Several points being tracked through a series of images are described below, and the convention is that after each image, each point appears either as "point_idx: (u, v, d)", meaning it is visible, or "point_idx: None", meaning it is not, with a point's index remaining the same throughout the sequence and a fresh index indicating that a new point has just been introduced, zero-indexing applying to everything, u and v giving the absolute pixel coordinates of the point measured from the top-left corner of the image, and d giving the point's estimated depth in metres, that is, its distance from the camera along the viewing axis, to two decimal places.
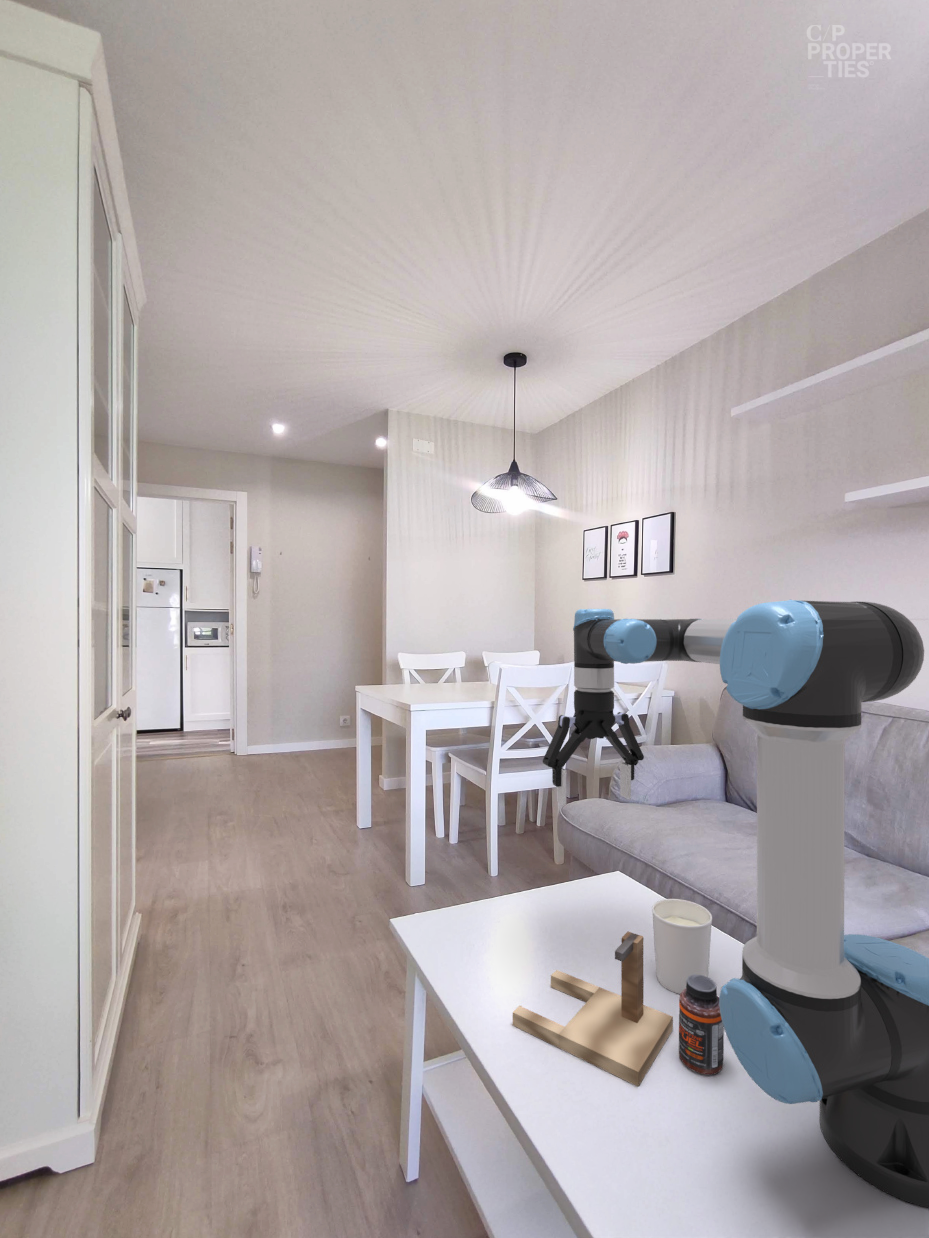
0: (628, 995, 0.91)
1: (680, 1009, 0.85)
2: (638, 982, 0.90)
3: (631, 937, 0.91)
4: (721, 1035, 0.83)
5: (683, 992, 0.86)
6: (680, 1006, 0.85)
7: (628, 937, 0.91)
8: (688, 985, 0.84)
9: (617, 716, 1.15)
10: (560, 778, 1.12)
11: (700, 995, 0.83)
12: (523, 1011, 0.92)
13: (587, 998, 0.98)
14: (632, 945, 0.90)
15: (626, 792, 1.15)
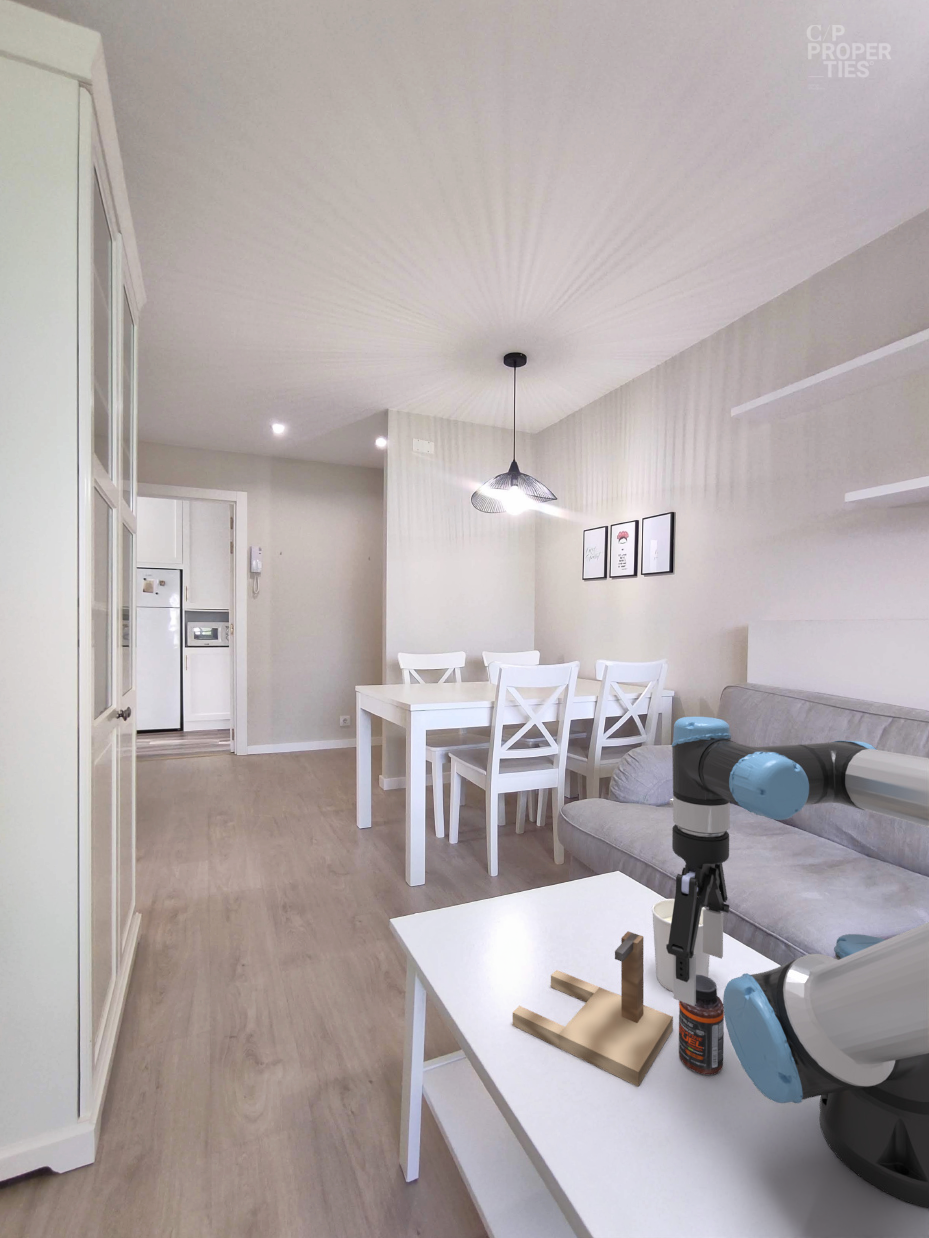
0: (628, 995, 0.91)
1: (680, 1009, 0.85)
2: (638, 982, 0.90)
3: (631, 937, 0.91)
4: (721, 1035, 0.83)
5: None
6: (680, 1006, 0.85)
7: (628, 937, 0.91)
8: None
9: None
10: (689, 968, 0.79)
11: (700, 995, 0.83)
12: (523, 1011, 0.92)
13: (587, 998, 0.98)
14: (632, 945, 0.90)
15: (719, 949, 0.89)
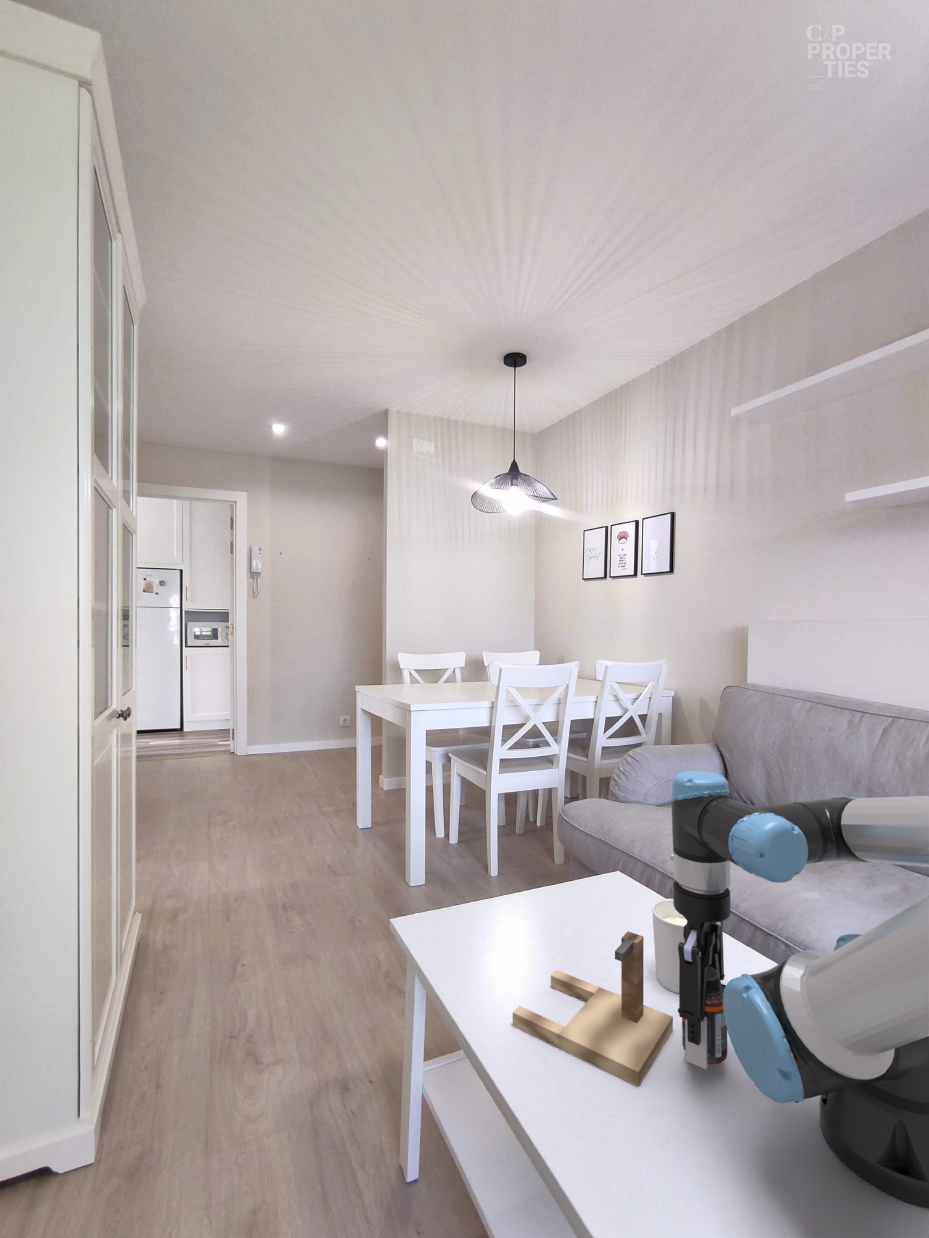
0: (628, 995, 0.91)
1: None
2: (638, 982, 0.90)
3: (631, 937, 0.91)
4: (724, 1024, 0.82)
5: None
6: None
7: (628, 937, 0.91)
8: None
9: None
10: (700, 1031, 0.81)
11: None
12: (523, 1011, 0.92)
13: (587, 998, 0.98)
14: (632, 945, 0.90)
15: None
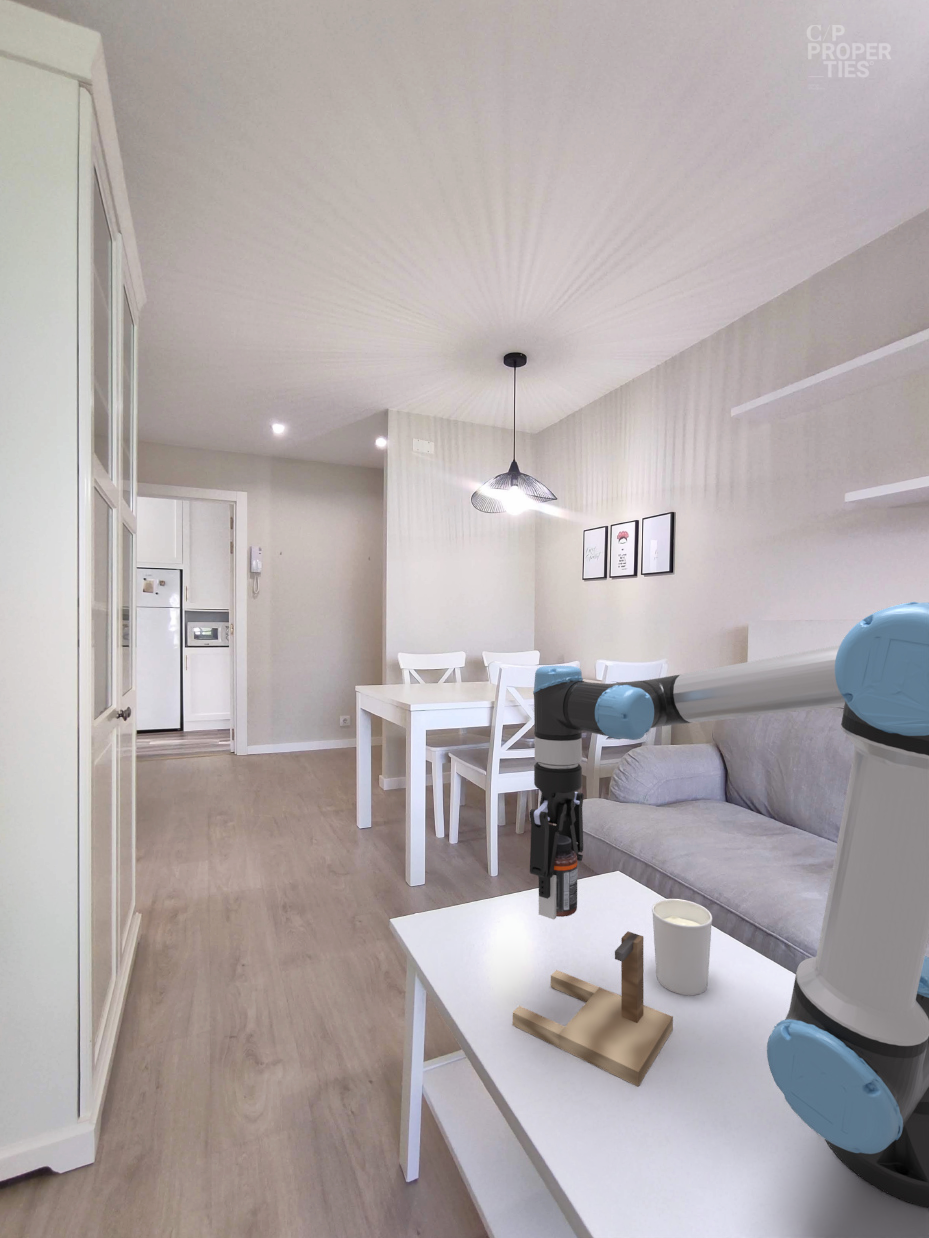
0: (628, 995, 0.91)
1: None
2: (638, 982, 0.90)
3: (631, 937, 0.91)
4: (573, 882, 0.93)
5: None
6: None
7: (628, 937, 0.91)
8: None
9: None
10: (550, 887, 0.92)
11: None
12: (523, 1011, 0.92)
13: (587, 998, 0.98)
14: (632, 945, 0.90)
15: None
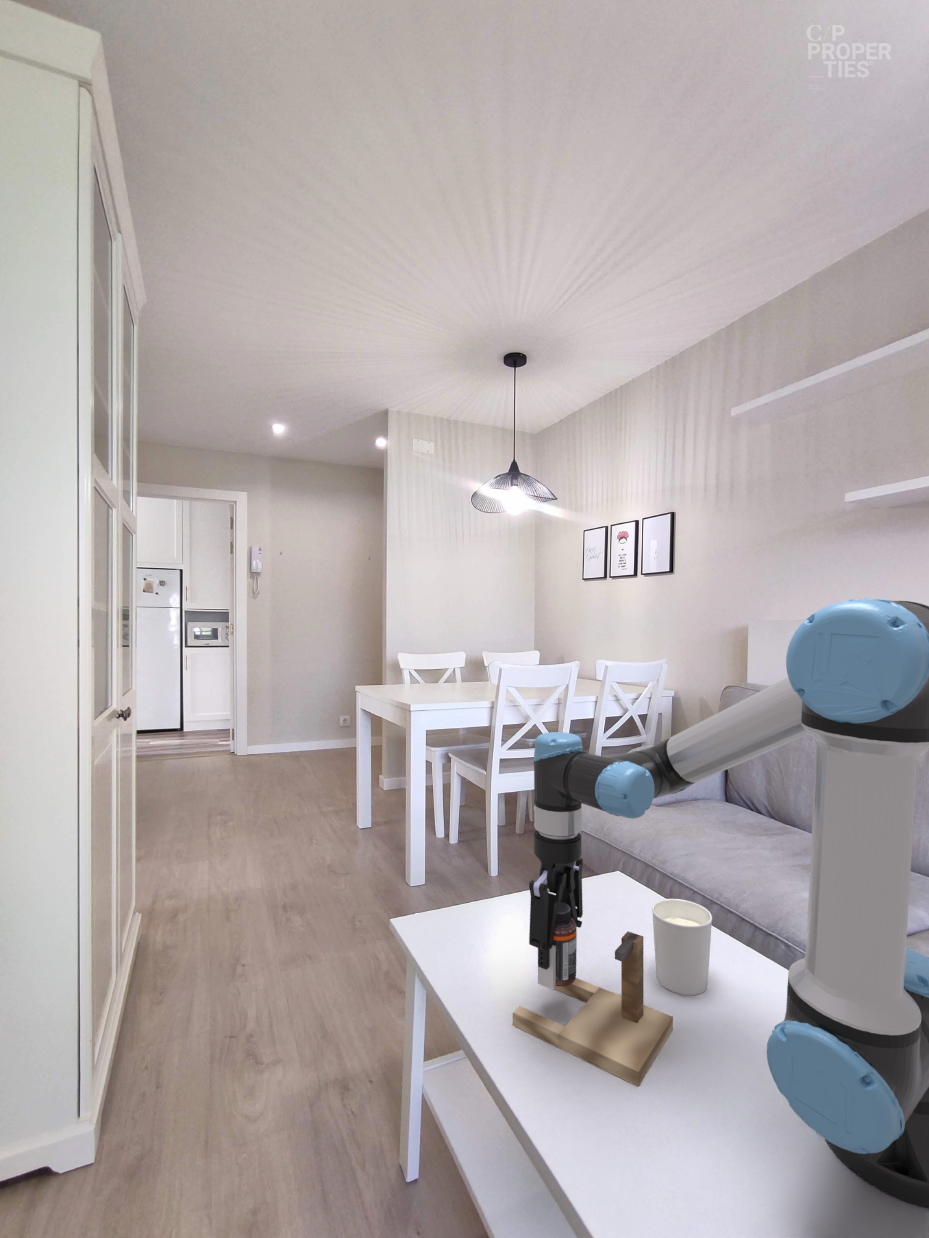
0: (628, 995, 0.91)
1: None
2: (638, 982, 0.90)
3: (631, 937, 0.91)
4: (572, 952, 0.93)
5: None
6: None
7: (628, 937, 0.91)
8: None
9: None
10: (549, 957, 0.92)
11: None
12: (523, 1011, 0.92)
13: (587, 998, 0.98)
14: (632, 945, 0.90)
15: None
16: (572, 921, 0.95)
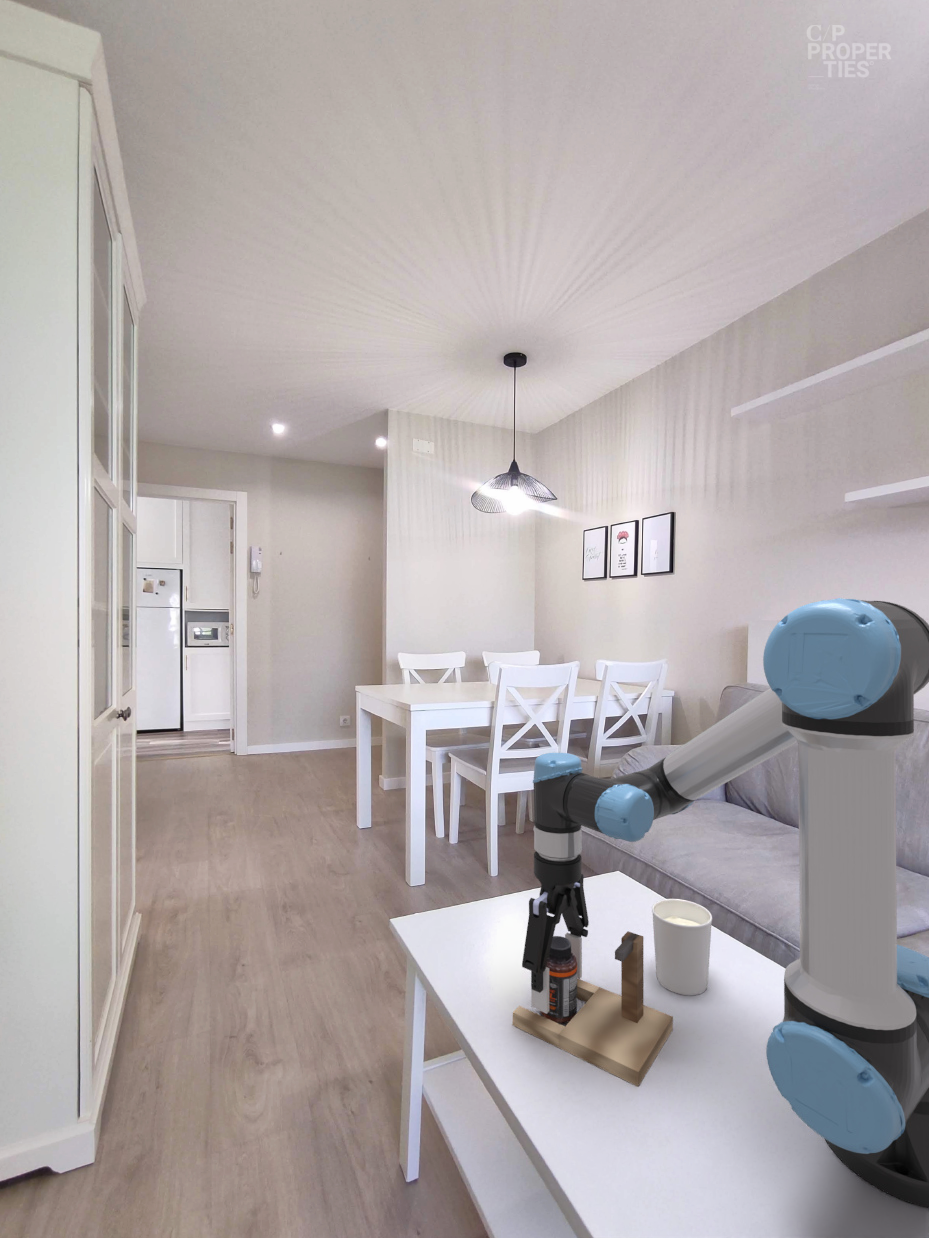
0: (628, 995, 0.91)
1: None
2: (638, 982, 0.90)
3: (631, 937, 0.91)
4: (573, 988, 0.93)
5: None
6: None
7: (628, 937, 0.91)
8: None
9: None
10: (542, 980, 0.90)
11: (554, 953, 0.93)
12: (523, 1011, 0.92)
13: (587, 998, 0.98)
14: (632, 945, 0.90)
15: (578, 970, 0.99)
16: (573, 956, 0.95)
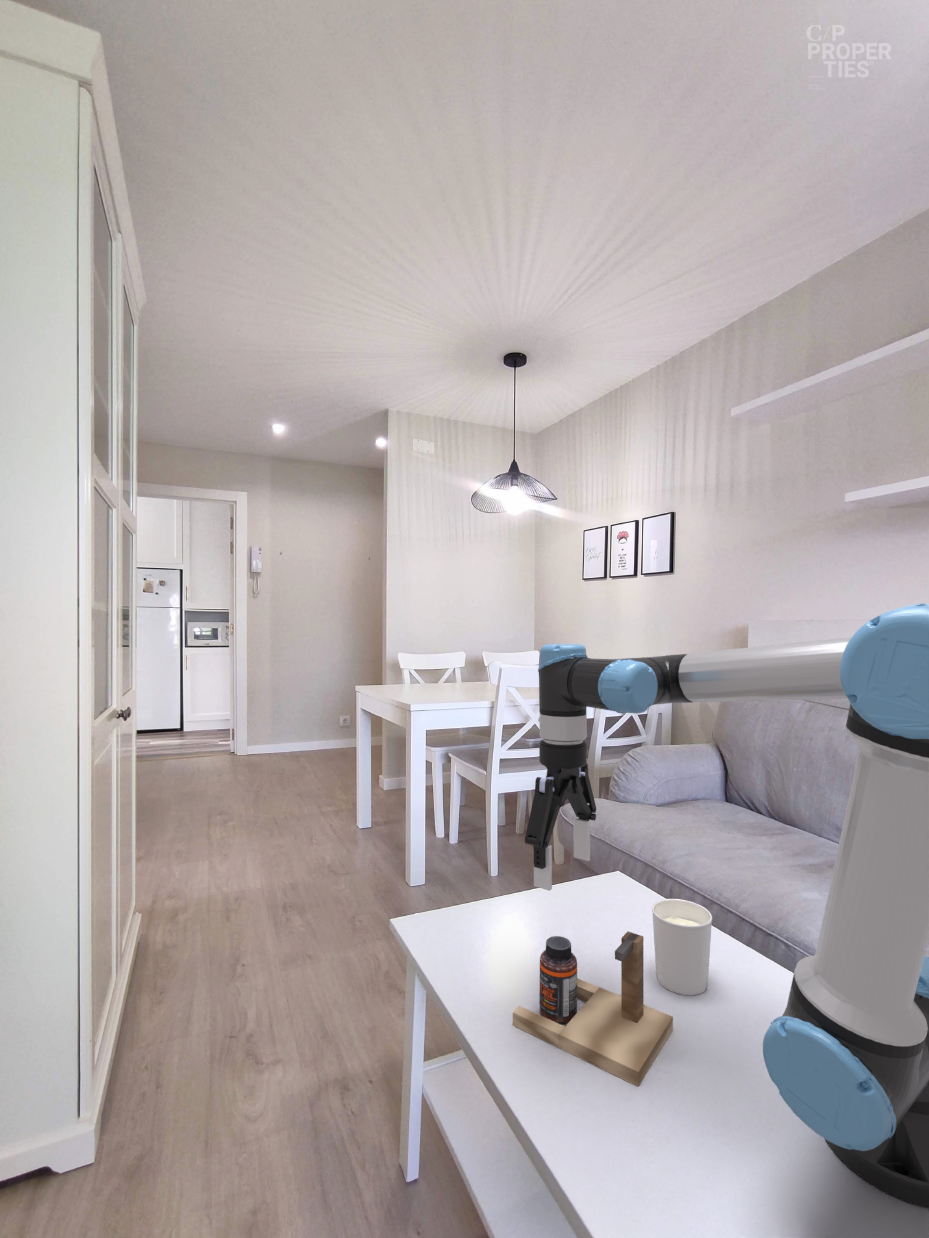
0: (628, 995, 0.91)
1: None
2: (638, 982, 0.90)
3: (631, 937, 0.91)
4: (573, 988, 0.93)
5: (544, 951, 0.96)
6: None
7: (628, 937, 0.91)
8: (546, 944, 0.95)
9: (578, 767, 1.00)
10: (545, 857, 0.90)
11: (554, 953, 0.93)
12: (523, 1011, 0.92)
13: (587, 998, 0.98)
14: (632, 945, 0.90)
15: (586, 853, 1.01)
16: (573, 956, 0.95)
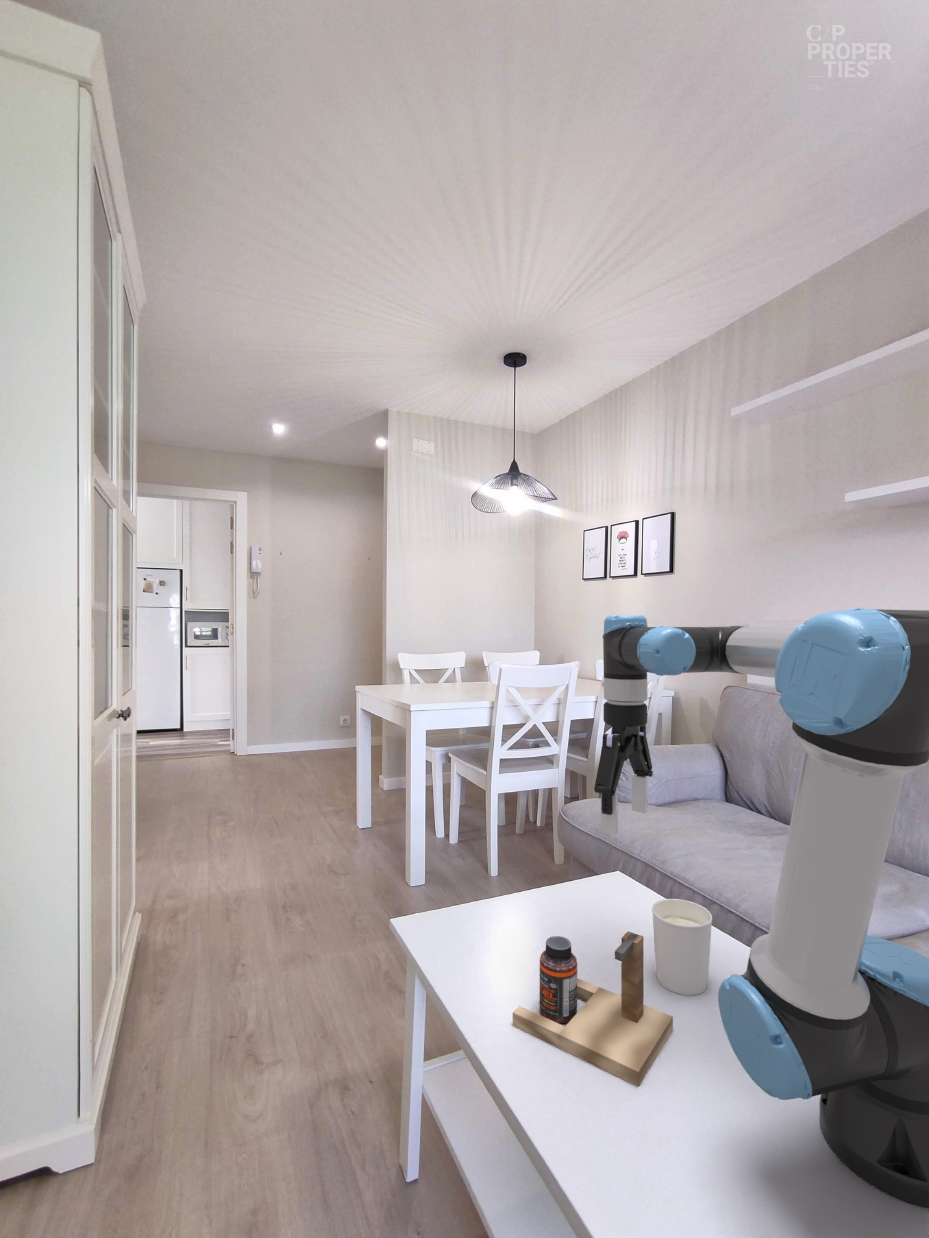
0: (628, 995, 0.91)
1: None
2: (638, 982, 0.90)
3: (631, 937, 0.91)
4: (573, 988, 0.93)
5: (544, 951, 0.96)
6: None
7: (628, 937, 0.91)
8: (546, 944, 0.95)
9: (637, 728, 1.10)
10: (612, 804, 1.00)
11: (554, 953, 0.93)
12: (523, 1011, 0.92)
13: (587, 998, 0.98)
14: (632, 945, 0.90)
15: (644, 806, 1.11)
16: (573, 956, 0.95)
